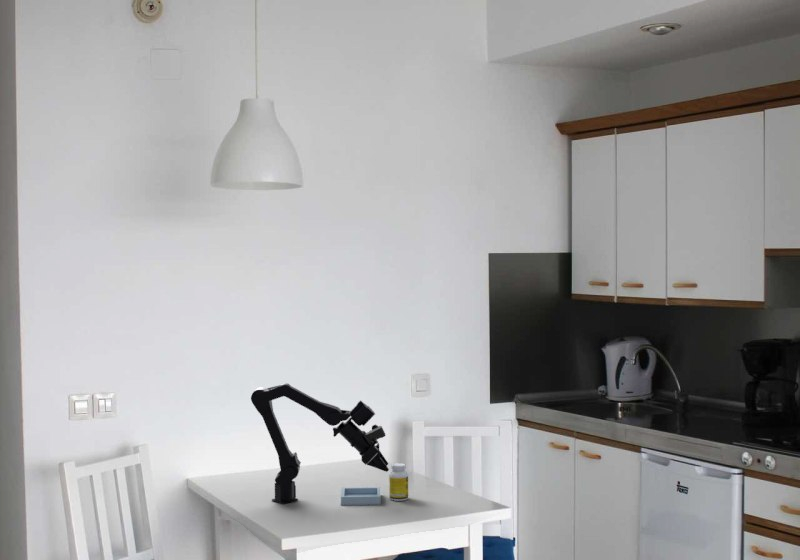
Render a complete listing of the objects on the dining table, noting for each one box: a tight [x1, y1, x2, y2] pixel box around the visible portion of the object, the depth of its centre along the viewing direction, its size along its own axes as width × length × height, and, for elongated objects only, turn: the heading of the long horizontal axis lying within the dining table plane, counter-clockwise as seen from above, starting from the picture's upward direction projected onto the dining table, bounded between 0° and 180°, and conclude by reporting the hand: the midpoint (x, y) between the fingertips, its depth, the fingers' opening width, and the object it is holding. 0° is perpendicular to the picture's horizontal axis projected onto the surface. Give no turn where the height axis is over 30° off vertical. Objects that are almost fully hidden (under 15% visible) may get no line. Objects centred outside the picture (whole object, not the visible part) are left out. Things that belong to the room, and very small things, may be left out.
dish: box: [340, 486, 381, 506], centre depth 308 cm, size 13×13×3 cm
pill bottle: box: [388, 462, 409, 502], centre depth 308 cm, size 6×6×12 cm
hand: (387, 467), depth 308 cm, fingers open, 9 cm apart
